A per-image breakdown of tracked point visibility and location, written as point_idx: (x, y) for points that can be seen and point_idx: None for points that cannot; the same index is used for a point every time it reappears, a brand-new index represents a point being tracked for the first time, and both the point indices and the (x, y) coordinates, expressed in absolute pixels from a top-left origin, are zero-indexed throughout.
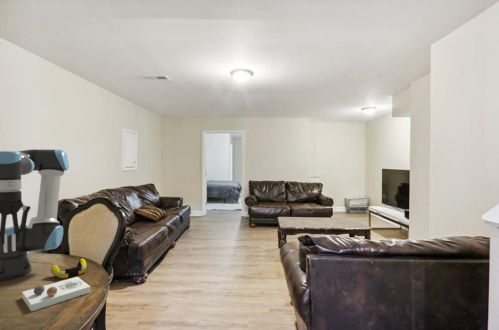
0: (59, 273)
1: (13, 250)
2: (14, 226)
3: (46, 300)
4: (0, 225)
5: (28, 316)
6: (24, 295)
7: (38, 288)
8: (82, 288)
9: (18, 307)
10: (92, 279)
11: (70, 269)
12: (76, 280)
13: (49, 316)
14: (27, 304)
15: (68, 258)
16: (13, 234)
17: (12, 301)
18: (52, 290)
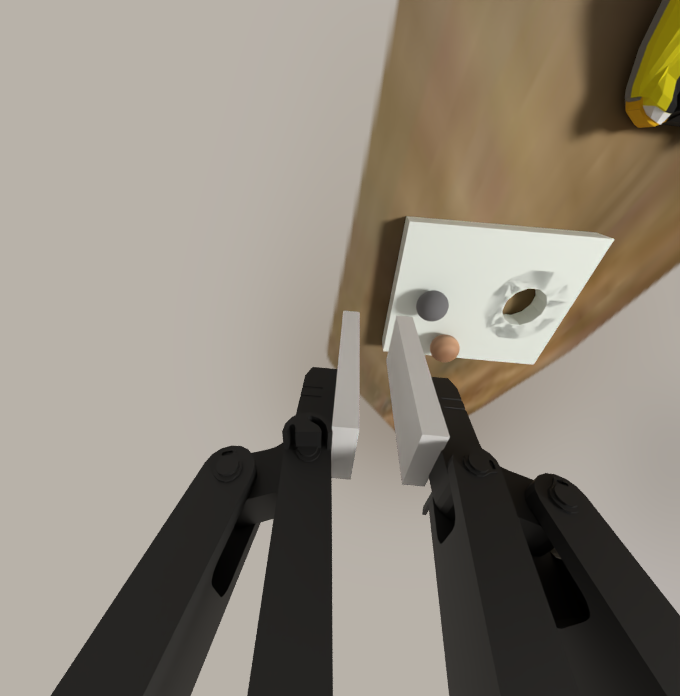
0: (644, 97)
1: (388, 364)
2: (440, 611)
3: None
4: (259, 621)
5: (368, 357)
6: (400, 265)
7: (427, 320)
8: (513, 359)
9: (371, 288)
10: (635, 256)
11: None
12: (569, 281)
13: None
14: (390, 301)
15: None
16: (407, 483)
17: (375, 219)
18: (441, 361)
